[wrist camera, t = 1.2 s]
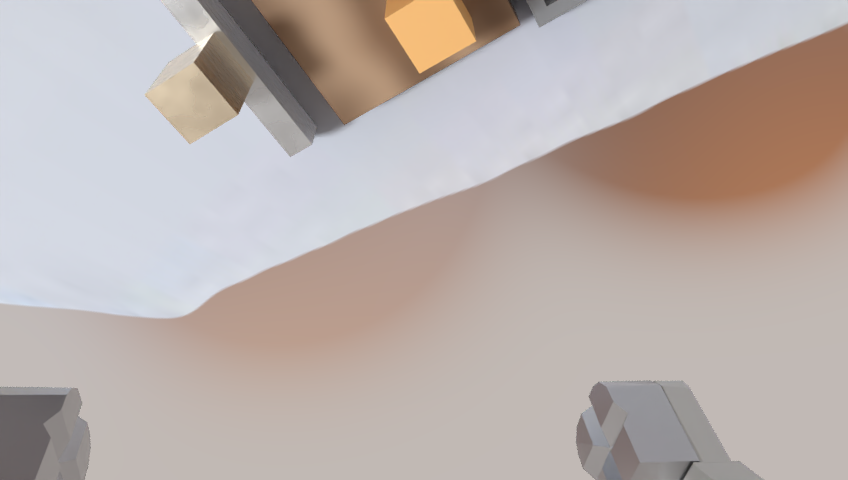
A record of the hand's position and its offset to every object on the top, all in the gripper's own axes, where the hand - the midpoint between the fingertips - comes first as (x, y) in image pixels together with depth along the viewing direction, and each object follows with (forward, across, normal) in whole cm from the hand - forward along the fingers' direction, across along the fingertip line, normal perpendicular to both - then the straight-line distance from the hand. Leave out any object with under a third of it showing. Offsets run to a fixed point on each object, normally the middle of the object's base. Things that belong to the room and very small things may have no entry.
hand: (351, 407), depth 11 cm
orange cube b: (+36, -7, +5) cm, 37 cm away
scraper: (+41, +7, +11) cm, 43 cm away
